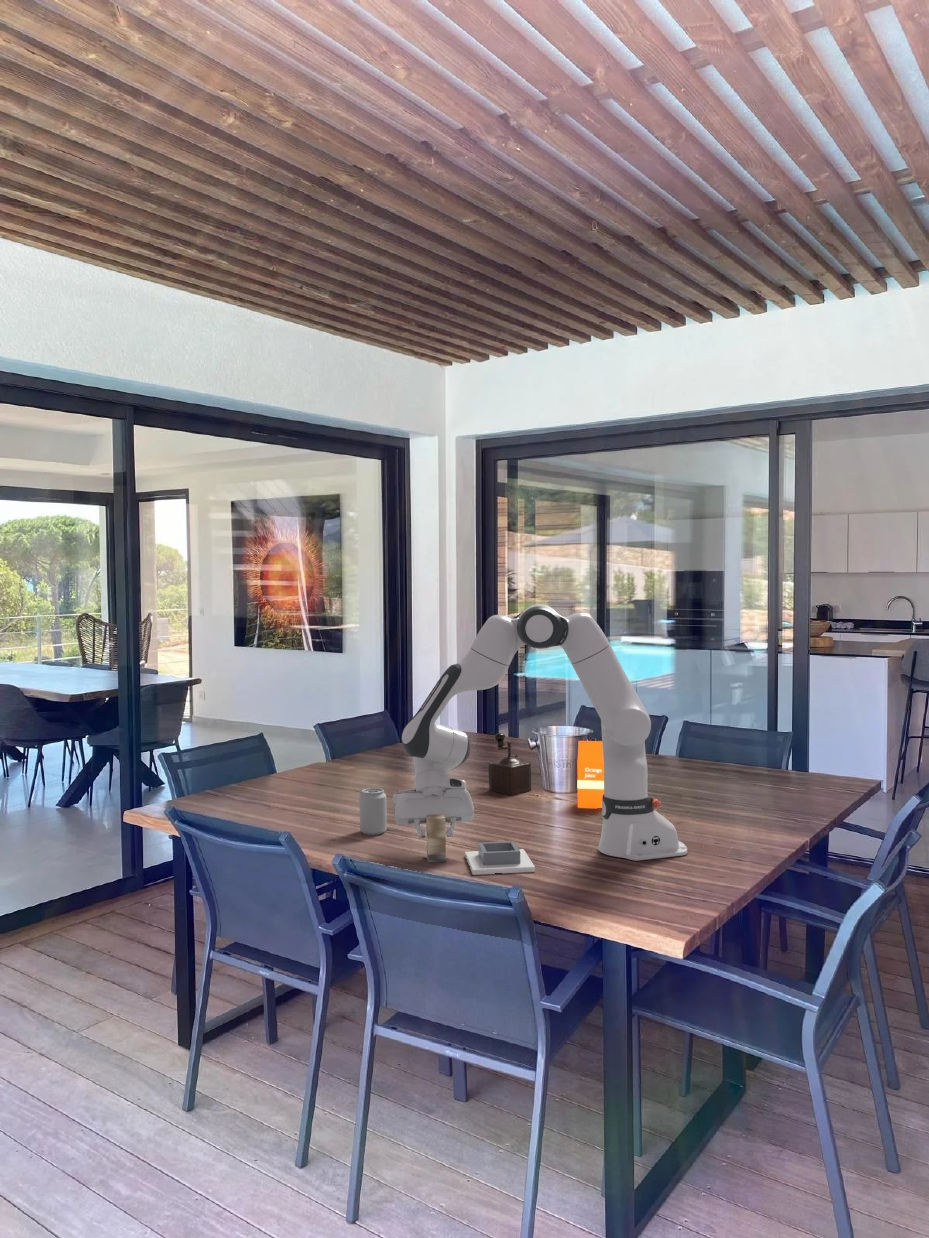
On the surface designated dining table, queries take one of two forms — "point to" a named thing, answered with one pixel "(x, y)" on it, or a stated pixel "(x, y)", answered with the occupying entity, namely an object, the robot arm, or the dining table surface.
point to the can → (373, 811)
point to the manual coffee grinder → (509, 772)
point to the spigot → (436, 838)
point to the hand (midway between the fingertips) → (436, 836)
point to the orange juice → (590, 774)
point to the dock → (498, 859)
